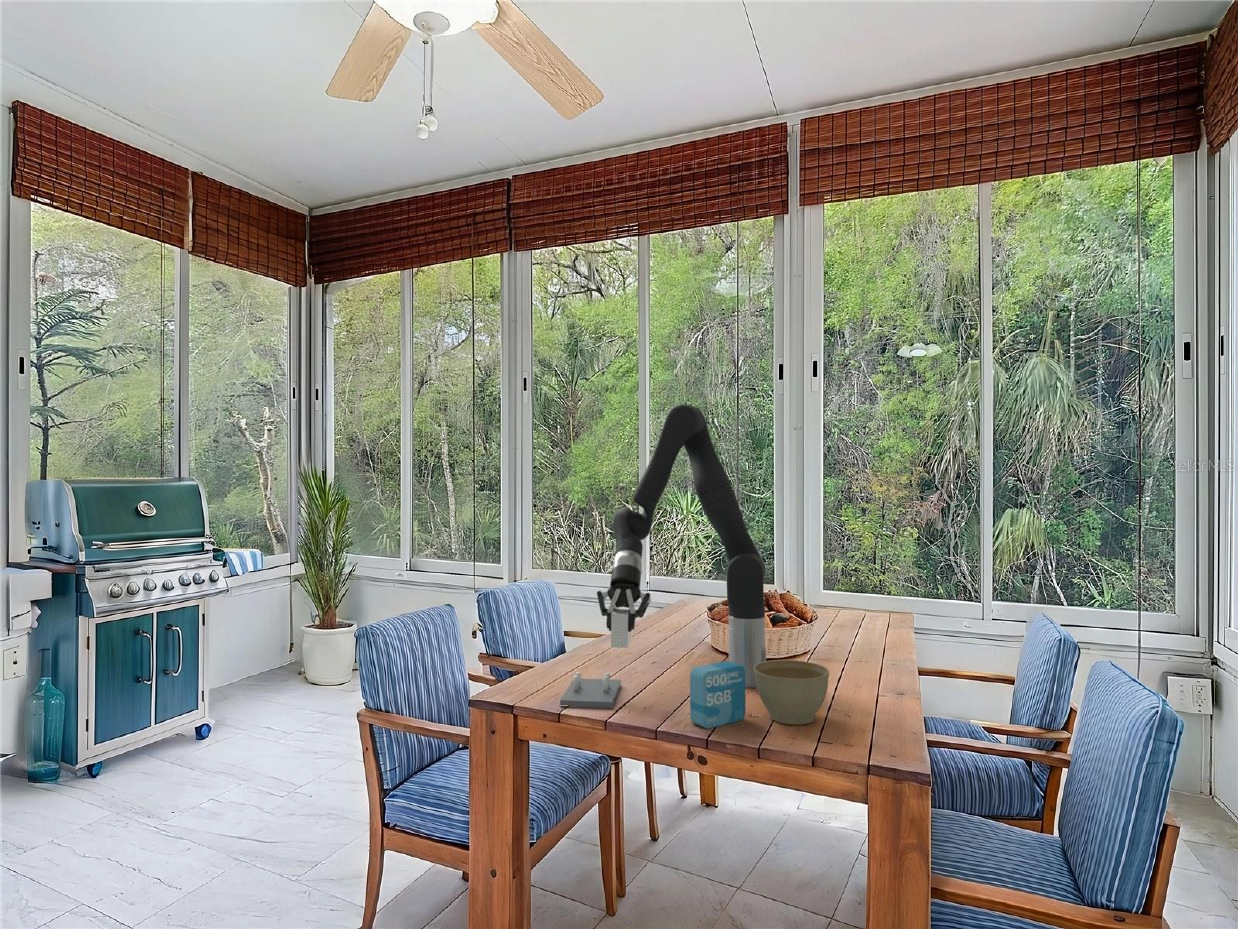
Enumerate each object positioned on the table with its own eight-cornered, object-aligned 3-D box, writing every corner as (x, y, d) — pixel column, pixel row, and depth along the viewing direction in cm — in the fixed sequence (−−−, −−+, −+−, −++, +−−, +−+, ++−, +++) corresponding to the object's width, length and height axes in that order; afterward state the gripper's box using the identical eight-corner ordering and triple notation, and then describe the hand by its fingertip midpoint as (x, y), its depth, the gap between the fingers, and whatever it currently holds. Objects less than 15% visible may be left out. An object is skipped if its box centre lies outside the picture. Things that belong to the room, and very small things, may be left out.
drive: (630, 642, 174) (631, 609, 174) (627, 648, 168) (628, 614, 168) (614, 641, 174) (614, 609, 174) (610, 647, 168) (611, 613, 168)
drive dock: (620, 685, 179) (620, 666, 179) (611, 708, 161) (611, 686, 161) (574, 684, 180) (574, 664, 180) (560, 706, 162) (560, 684, 162)
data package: (703, 730, 147) (702, 672, 147) (689, 724, 151) (689, 667, 151) (746, 719, 153) (745, 664, 154) (732, 714, 157) (731, 660, 157)
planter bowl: (827, 709, 160) (826, 661, 160) (832, 734, 144) (831, 681, 145) (755, 704, 164) (755, 657, 164) (752, 728, 148) (752, 676, 148)
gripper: (597, 562, 179) (589, 619, 167) (653, 564, 178) (648, 622, 165) (600, 580, 185) (592, 637, 172) (654, 581, 183) (650, 639, 171)
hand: (620, 629), depth 169 cm, fingers closed on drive, 4 cm apart
